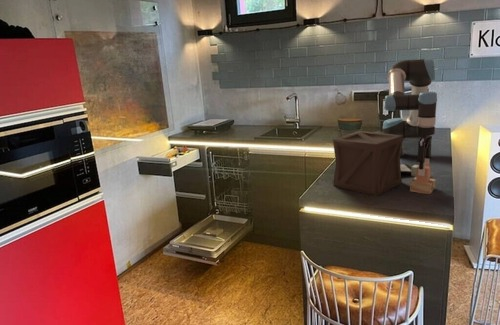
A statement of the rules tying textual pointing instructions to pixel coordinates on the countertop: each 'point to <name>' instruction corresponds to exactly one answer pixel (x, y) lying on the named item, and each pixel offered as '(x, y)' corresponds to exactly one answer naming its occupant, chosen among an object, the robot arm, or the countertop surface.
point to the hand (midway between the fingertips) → (423, 173)
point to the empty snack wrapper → (405, 168)
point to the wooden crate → (368, 162)
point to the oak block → (422, 186)
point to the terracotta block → (426, 177)
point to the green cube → (414, 170)
